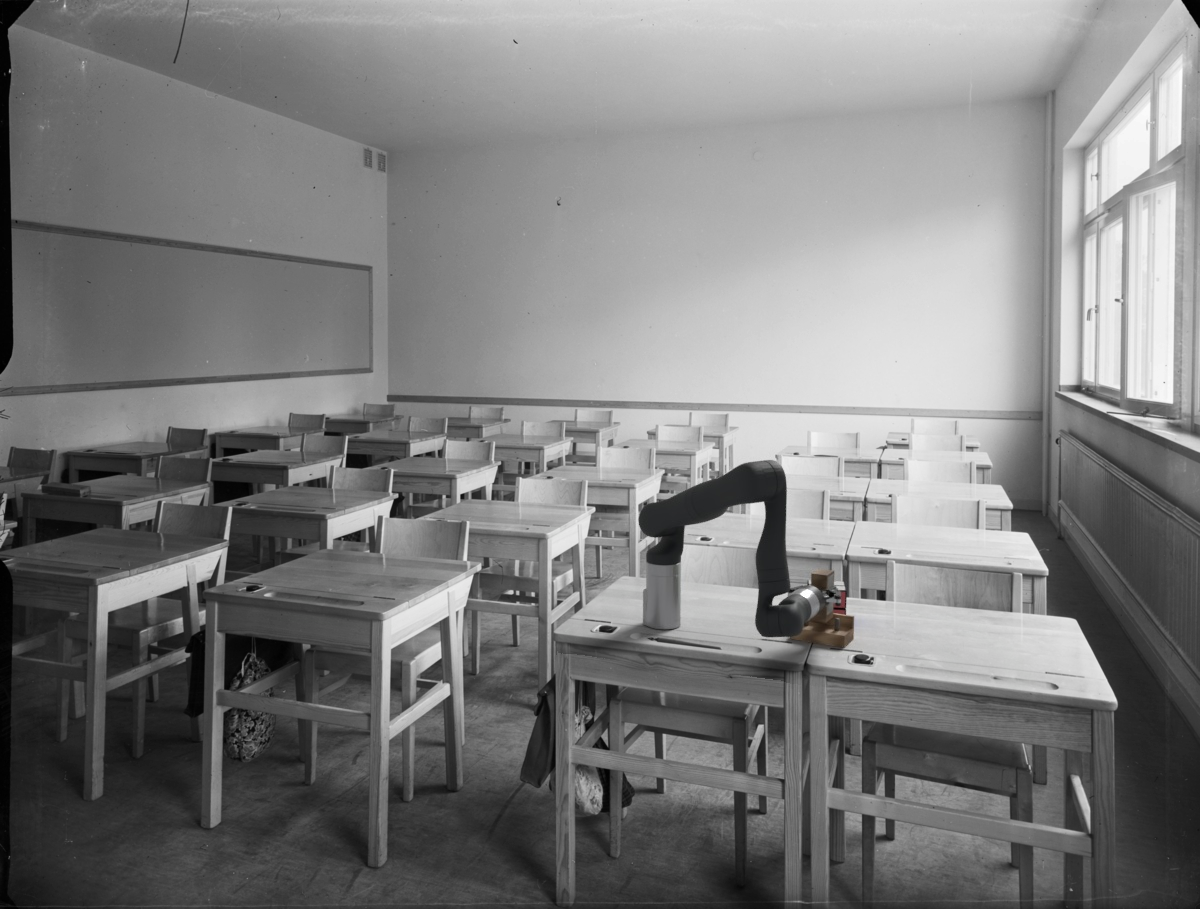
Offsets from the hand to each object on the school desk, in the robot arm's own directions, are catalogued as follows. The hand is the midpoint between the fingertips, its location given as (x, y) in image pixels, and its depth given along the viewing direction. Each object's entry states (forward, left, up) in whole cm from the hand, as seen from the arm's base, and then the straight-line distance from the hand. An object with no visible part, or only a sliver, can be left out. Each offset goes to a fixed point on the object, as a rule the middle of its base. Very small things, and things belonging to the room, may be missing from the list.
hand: (825, 589), depth 233 cm
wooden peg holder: (0, -2, -12) cm, 13 cm away
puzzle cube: (-4, +14, -13) cm, 19 cm away
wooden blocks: (0, -3, -7) cm, 8 cm away
